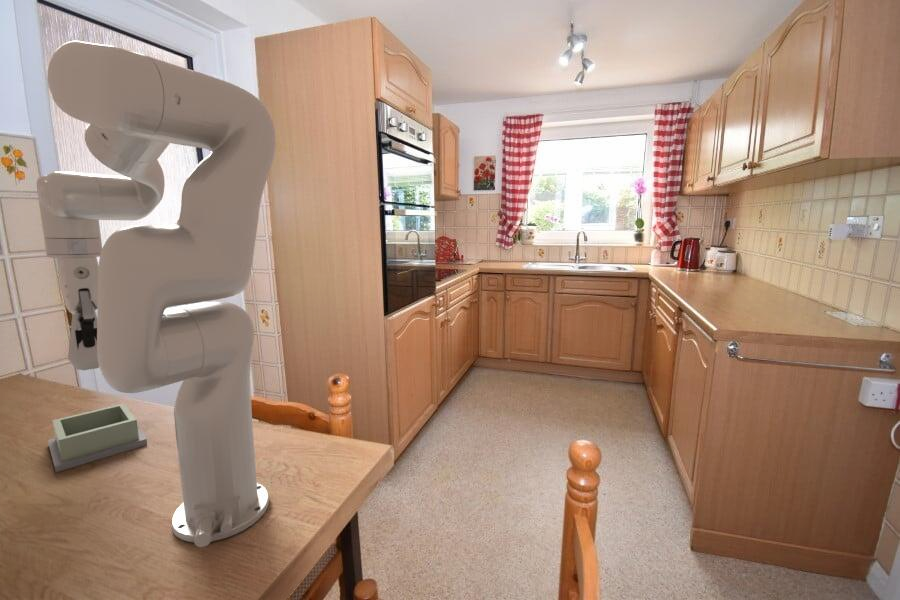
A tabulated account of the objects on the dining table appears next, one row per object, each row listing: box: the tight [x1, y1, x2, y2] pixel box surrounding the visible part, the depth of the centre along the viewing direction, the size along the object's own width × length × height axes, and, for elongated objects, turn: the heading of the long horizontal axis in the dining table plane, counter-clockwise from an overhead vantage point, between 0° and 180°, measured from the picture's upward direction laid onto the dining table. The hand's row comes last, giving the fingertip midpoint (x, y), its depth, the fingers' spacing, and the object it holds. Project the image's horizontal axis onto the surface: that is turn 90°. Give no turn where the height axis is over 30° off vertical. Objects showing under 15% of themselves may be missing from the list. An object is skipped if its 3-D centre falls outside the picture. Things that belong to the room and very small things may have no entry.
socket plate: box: [47, 402, 148, 473], centre depth 80 cm, size 13×13×5 cm
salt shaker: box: [66, 298, 100, 371], centre depth 76 cm, size 6×6×13 cm
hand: (87, 347), depth 77 cm, fingers closed on salt shaker, 3 cm apart
